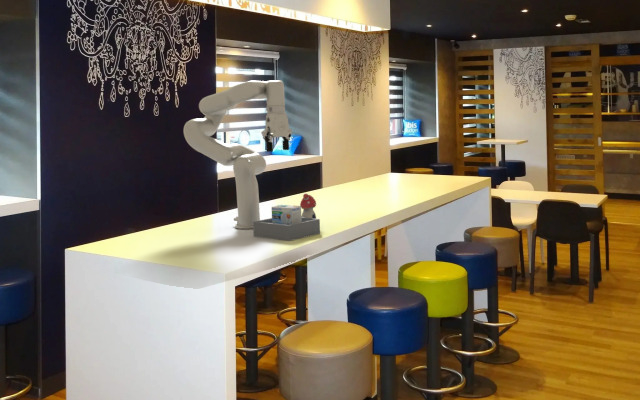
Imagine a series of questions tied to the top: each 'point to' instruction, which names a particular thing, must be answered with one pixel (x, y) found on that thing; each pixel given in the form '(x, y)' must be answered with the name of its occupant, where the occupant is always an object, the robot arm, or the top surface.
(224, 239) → the top surface
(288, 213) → the light bulb box
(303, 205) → the decorative ornament
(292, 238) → the tote
